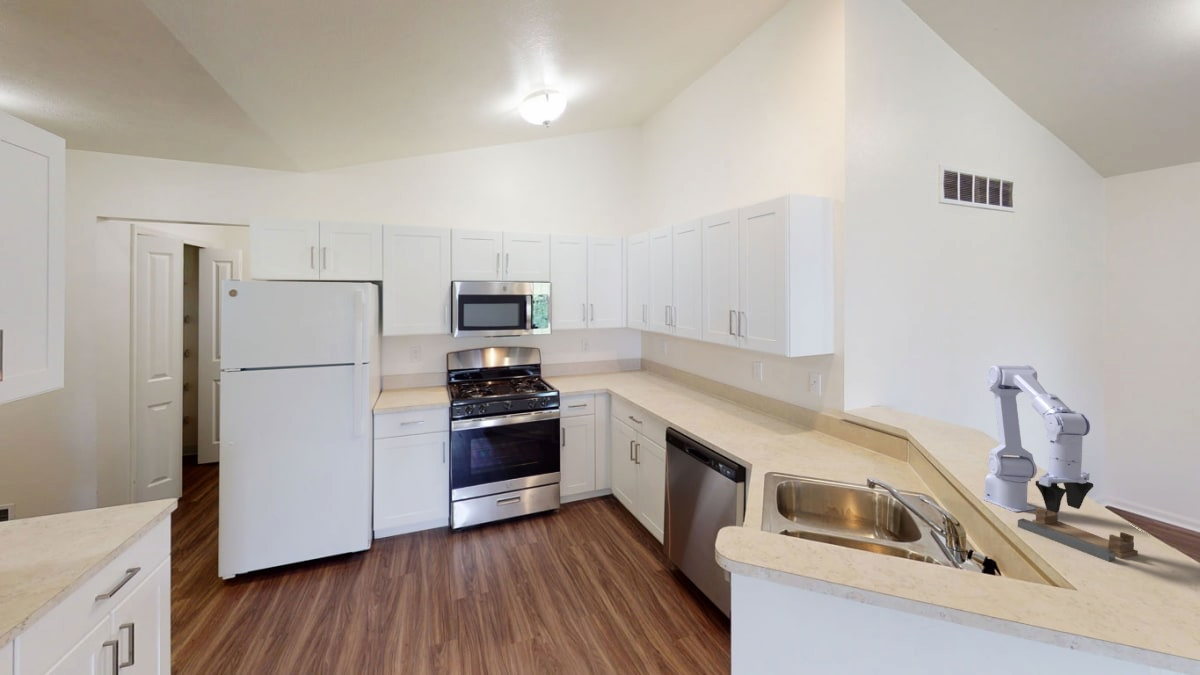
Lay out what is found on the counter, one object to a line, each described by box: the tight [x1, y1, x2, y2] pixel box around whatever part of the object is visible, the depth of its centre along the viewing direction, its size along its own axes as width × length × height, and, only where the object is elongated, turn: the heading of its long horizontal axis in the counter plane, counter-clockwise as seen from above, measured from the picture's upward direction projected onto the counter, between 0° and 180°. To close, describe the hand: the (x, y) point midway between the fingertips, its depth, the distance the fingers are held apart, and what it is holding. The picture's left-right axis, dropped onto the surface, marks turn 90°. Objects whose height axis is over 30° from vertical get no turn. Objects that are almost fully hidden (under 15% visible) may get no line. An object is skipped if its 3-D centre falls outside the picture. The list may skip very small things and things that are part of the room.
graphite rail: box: [1017, 517, 1116, 562], centre depth 112 cm, size 18×2×2 cm, turn 18°
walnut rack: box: [1031, 507, 1139, 559], centre depth 114 cm, size 18×6×5 cm, turn 13°
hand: (1063, 509), depth 112 cm, fingers open, 7 cm apart
